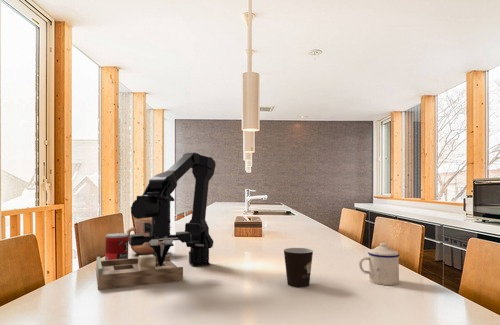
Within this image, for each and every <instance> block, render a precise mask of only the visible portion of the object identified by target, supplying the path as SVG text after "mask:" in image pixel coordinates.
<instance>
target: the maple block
mask: <svg viewBox="0 0 500 325" xmlns="http://www.w3.org/2000/svg"><path fill="white" fill-rule="evenodd" d="M137 258H138V271H141V270H152V269H155V265H156V255H138V256H137Z"/></svg>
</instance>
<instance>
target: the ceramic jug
mask: <svg viewBox="0 0 500 325" xmlns="http://www.w3.org/2000/svg"><path fill="white" fill-rule="evenodd" d="M134 221H135V222H134V224H135V227H134V226H133V227H129V228H128V230H127V231H126V234H128V236H130V235H131V232H135V234H143V235H144V236H149V233H144V230H143V227H144V223H150V224H151V221H152V218H151V219H135V220H134ZM171 228H172V227H171V226H170V229H171ZM161 242H163V241H159V243H158V244H159V245H160V250H161ZM130 249H131V250H132V251H133V252H134V254H137V255H139V256H141V255H154V256H156V255H155V252H154V250H153V248H151V247H149V246H148V242H144V244H143V245H140V246H130Z"/></svg>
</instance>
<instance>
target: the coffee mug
mask: <svg viewBox="0 0 500 325" xmlns="http://www.w3.org/2000/svg"><path fill="white" fill-rule="evenodd" d="M313 252H314V250H313V249H310V248H305V247H287V248H284V249H283V255H284V264H285V271H286V272H285V273H286V283H287V286H288V287H292V288H307V287H309V286H310V281H311V275H312V274H311V272H312V264H313V263H312V262H313Z"/></svg>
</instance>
